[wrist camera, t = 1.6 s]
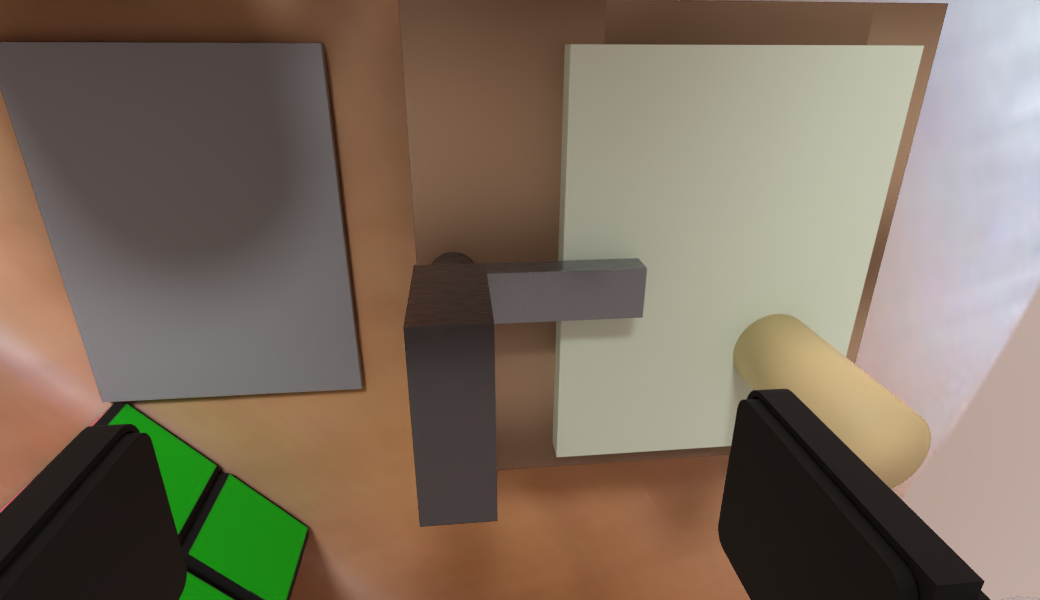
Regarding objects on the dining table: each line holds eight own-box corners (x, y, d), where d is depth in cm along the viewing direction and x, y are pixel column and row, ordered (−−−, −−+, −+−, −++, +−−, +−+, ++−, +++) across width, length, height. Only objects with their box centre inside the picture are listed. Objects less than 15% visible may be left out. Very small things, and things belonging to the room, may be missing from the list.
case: (413, 10, 19) (398, -3, 14) (817, 13, 21) (948, 3, 15) (435, 380, 25) (431, 474, 20) (753, 363, 26) (833, 447, 21)
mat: (-6, 41, 19) (-15, 41, 18) (323, 43, 20) (320, 43, 19) (107, 396, 24) (102, 402, 23) (363, 383, 25) (361, 388, 24)
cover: (564, 43, 15) (627, 44, 9) (902, 45, 16) (1132, 46, 10) (552, 441, 20) (590, 590, 14) (811, 425, 20) (937, 559, 15)
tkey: (423, 206, 16) (403, 327, 9) (631, 201, 16) (757, 312, 10) (432, 339, 17) (419, 527, 11) (621, 331, 18) (723, 503, 11)
